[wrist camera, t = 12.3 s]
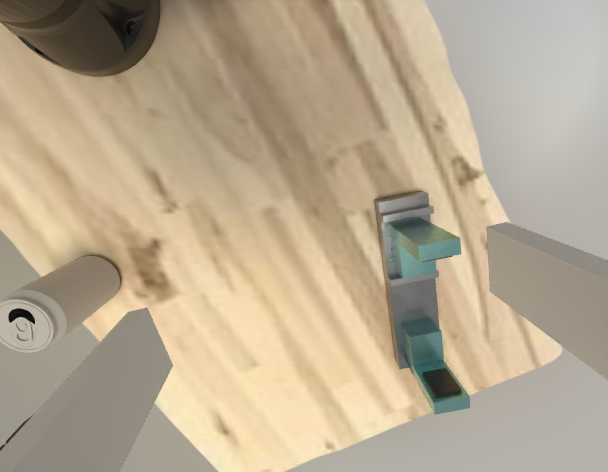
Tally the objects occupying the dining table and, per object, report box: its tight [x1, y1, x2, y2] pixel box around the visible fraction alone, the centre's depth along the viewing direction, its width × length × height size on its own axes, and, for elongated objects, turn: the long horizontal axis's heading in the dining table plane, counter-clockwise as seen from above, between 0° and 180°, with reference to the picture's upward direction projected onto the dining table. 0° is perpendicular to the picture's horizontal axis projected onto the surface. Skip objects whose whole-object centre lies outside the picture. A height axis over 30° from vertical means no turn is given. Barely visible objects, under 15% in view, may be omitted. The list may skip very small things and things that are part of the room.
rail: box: [374, 191, 470, 414], centre depth 37 cm, size 24×6×11 cm, turn 11°
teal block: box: [390, 218, 461, 279], centre depth 35 cm, size 6×4×9 cm, turn 11°
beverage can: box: [0, 256, 120, 353], centre depth 35 cm, size 6×6×12 cm
